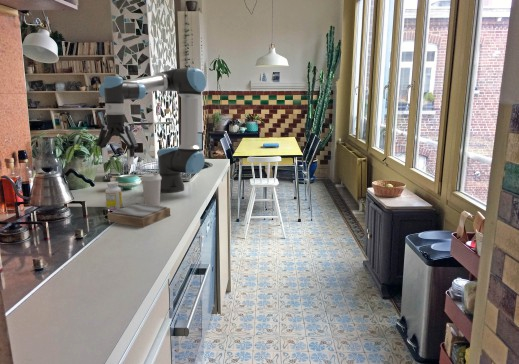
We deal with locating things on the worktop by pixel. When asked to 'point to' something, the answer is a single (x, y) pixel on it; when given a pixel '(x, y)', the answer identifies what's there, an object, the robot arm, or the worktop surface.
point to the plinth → (139, 214)
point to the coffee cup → (151, 188)
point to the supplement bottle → (113, 196)
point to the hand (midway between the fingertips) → (118, 163)
